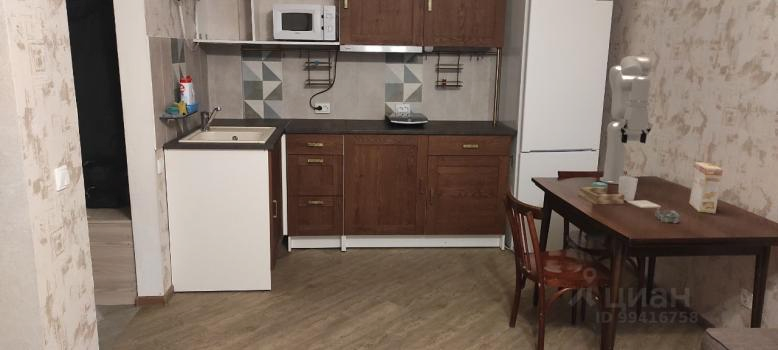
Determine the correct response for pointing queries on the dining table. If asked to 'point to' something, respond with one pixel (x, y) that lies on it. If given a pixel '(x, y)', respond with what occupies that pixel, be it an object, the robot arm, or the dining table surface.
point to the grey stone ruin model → (667, 216)
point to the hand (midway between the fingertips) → (633, 142)
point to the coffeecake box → (705, 187)
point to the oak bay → (600, 196)
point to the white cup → (627, 187)
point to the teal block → (599, 185)
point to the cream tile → (644, 204)
